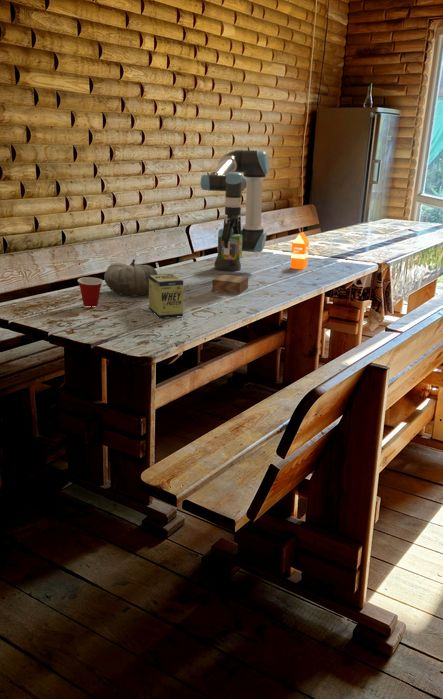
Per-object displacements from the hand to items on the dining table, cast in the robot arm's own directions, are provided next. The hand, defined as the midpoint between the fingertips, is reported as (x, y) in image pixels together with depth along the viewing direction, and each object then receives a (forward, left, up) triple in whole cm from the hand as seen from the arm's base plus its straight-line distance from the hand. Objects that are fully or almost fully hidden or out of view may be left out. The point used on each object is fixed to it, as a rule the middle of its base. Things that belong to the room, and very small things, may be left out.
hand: (231, 253), depth 328 cm
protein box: (-4, -55, -18) cm, 58 cm away
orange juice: (+9, +73, -18) cm, 76 cm away
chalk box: (0, 0, -3) cm, 3 cm away
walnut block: (0, 0, -19) cm, 19 cm away
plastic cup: (-37, -63, -18) cm, 75 cm away
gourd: (-36, -34, -18) cm, 53 cm away
